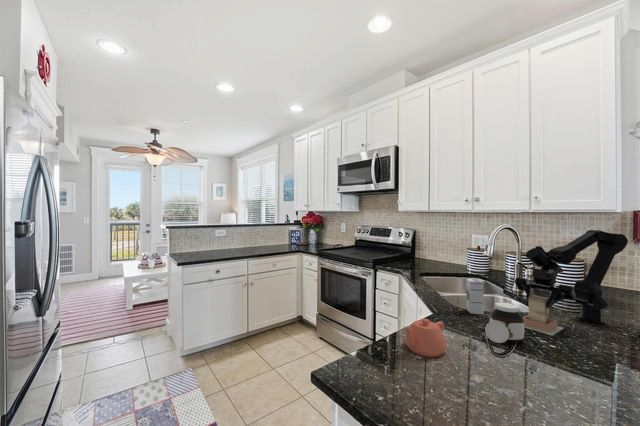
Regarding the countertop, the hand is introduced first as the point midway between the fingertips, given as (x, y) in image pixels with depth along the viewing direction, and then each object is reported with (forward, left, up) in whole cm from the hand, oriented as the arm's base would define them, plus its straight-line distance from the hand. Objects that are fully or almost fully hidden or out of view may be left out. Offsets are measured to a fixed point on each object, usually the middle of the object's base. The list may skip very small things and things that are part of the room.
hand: (537, 305), depth 109 cm
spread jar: (+15, -18, -9) cm, 25 cm away
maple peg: (-1, +1, -8) cm, 8 cm away
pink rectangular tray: (-1, +1, -9) cm, 9 cm away
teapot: (+29, -47, -9) cm, 56 cm away
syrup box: (-14, -18, -9) cm, 24 cm away
